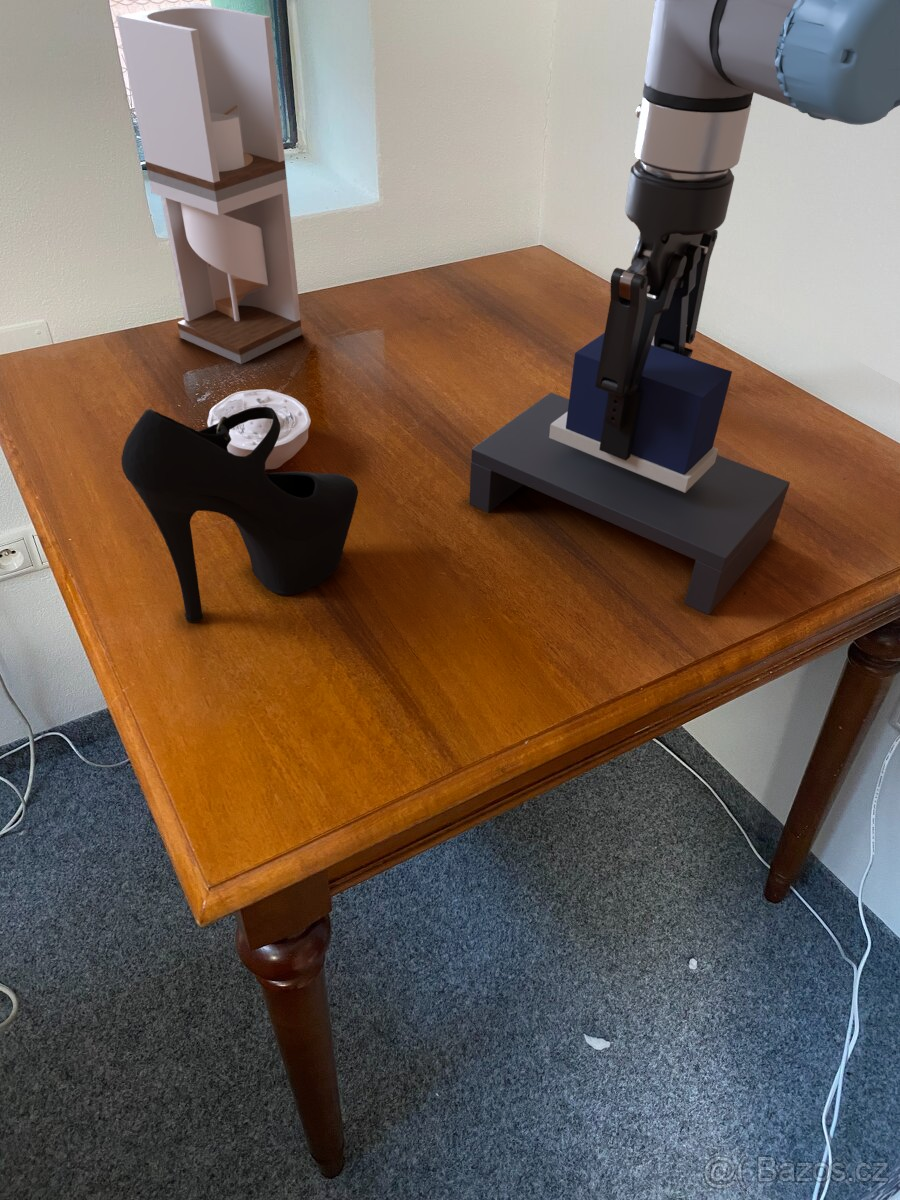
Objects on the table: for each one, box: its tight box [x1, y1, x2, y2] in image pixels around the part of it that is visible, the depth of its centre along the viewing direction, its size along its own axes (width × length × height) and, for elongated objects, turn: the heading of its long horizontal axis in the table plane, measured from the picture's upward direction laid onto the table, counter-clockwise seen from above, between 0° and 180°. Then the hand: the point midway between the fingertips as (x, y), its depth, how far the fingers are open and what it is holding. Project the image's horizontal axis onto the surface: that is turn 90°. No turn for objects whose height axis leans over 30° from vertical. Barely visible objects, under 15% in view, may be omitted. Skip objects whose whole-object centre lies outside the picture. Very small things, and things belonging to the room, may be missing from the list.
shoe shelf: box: [468, 392, 791, 616], centre depth 84 cm, size 26×14×6 cm, turn 53°
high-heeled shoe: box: [121, 407, 359, 623], centre depth 71 cm, size 8×19×20 cm, turn 130°
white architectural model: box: [116, 3, 303, 365], centre depth 102 cm, size 11×11×35 cm
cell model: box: [206, 388, 311, 470], centre depth 91 cm, size 10×12×7 cm
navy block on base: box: [549, 332, 733, 493], centre depth 77 cm, size 14×6×9 cm, turn 53°
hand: (633, 437), depth 80 cm, fingers closed on navy block on base, 6 cm apart
